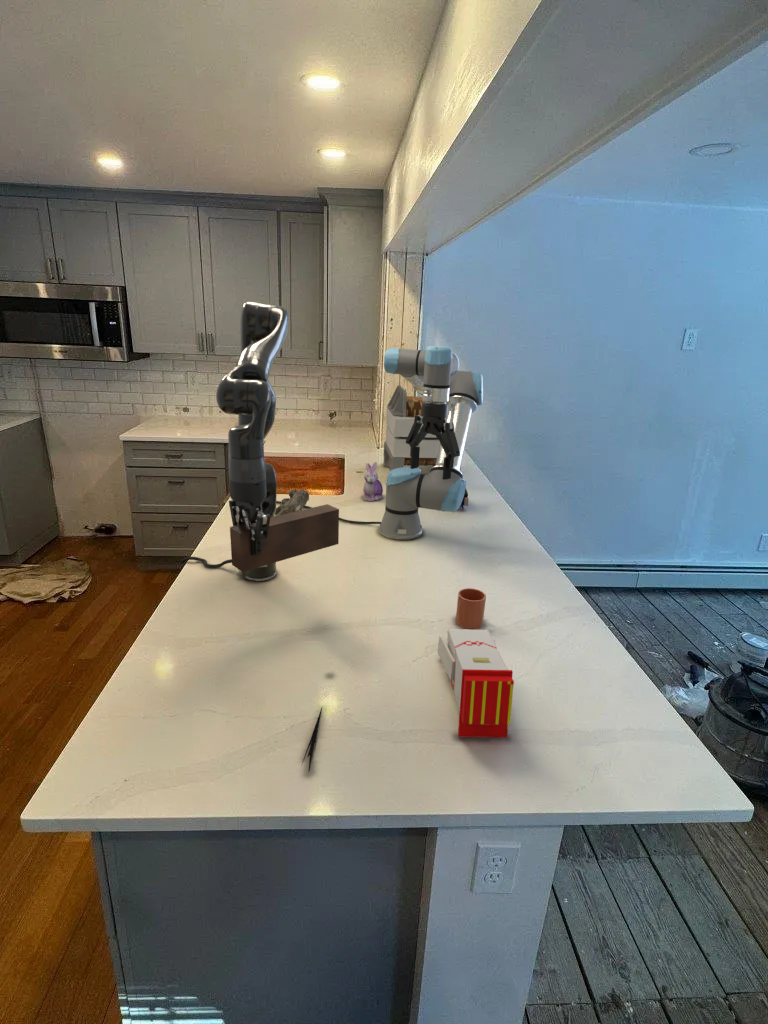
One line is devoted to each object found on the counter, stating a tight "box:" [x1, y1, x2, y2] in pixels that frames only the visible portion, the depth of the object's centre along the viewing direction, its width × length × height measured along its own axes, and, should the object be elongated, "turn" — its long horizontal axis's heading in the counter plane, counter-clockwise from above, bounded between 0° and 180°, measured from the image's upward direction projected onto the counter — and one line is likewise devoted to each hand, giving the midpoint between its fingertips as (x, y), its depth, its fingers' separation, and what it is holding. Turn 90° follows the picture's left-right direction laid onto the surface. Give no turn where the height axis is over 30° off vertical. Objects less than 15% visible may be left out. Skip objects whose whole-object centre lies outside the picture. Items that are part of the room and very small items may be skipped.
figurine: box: [362, 461, 384, 502], centre depth 233 cm, size 9×10×15 cm
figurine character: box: [459, 488, 470, 511], centre depth 230 cm, size 7×8×15 cm
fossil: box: [275, 488, 310, 516], centre depth 210 cm, size 22×10×15 cm
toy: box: [437, 628, 515, 738], centre depth 117 cm, size 12×13×30 cm
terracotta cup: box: [455, 587, 487, 630], centre depth 144 cm, size 7×7×8 cm
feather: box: [301, 673, 332, 771], centre depth 108 cm, size 2×28×2 cm
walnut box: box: [229, 503, 340, 573], centre depth 130 cm, size 26×5×9 cm, turn 132°
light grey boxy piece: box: [383, 384, 462, 472], centre depth 268 cm, size 34×33×41 cm
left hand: (250, 550), depth 124 cm, fingers closed on walnut box, 4 cm apart
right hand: (430, 473), depth 170 cm, fingers open, 13 cm apart
